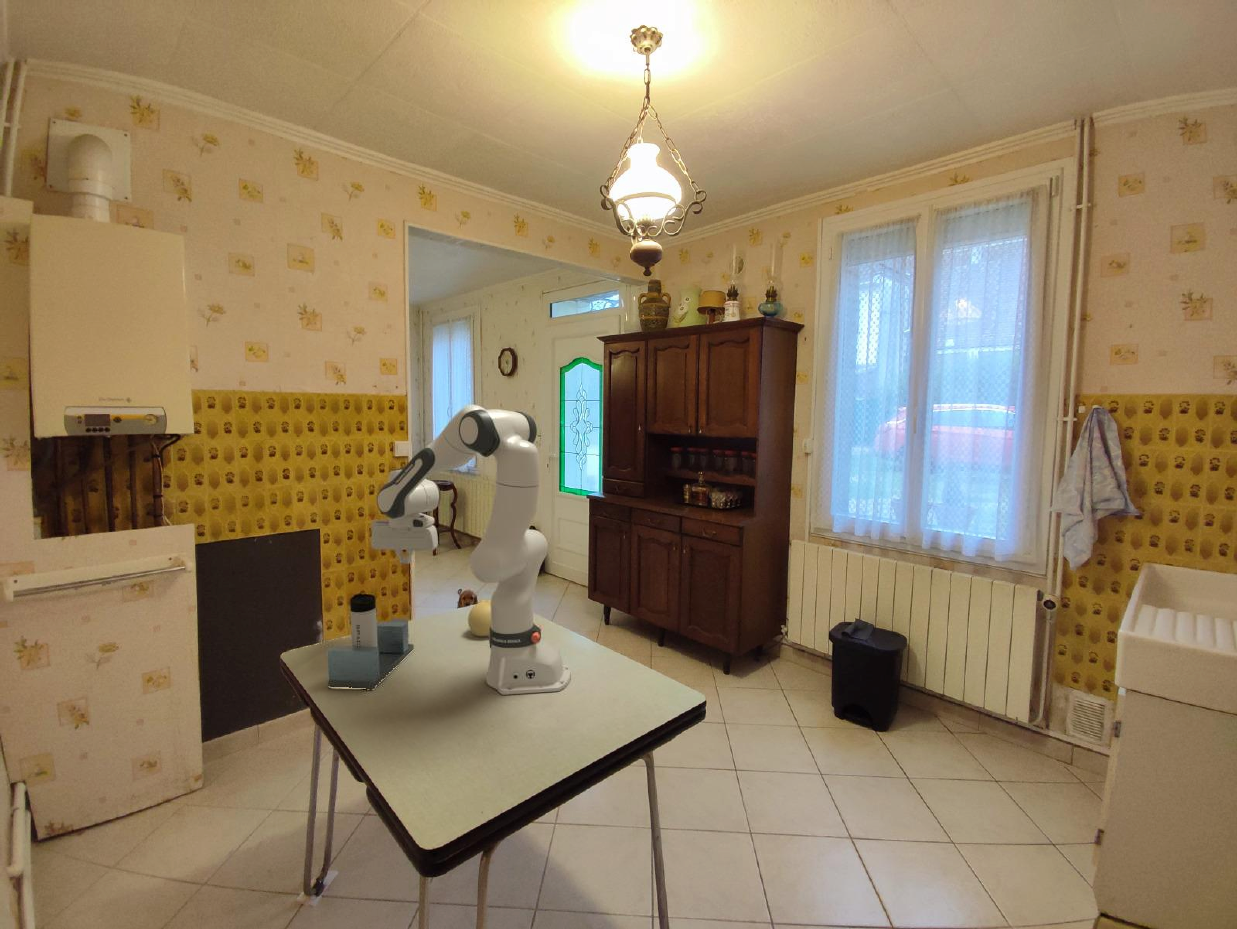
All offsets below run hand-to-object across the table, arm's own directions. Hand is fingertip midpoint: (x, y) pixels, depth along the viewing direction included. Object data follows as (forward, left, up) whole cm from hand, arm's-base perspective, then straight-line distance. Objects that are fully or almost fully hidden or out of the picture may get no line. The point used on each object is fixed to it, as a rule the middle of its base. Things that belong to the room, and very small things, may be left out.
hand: (405, 563), depth 174 cm
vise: (0, +22, -24) cm, 32 cm away
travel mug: (0, +26, -22) cm, 34 cm away
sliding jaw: (0, +11, -22) cm, 24 cm away
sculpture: (-24, -5, -24) cm, 35 cm away
